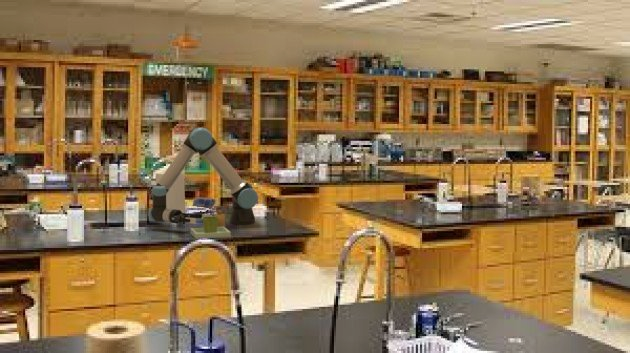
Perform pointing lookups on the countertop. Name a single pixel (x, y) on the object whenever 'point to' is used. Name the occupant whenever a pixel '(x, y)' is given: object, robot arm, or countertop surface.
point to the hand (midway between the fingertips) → (203, 219)
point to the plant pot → (210, 224)
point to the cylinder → (175, 193)
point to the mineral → (204, 202)
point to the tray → (200, 233)
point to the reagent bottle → (222, 217)
